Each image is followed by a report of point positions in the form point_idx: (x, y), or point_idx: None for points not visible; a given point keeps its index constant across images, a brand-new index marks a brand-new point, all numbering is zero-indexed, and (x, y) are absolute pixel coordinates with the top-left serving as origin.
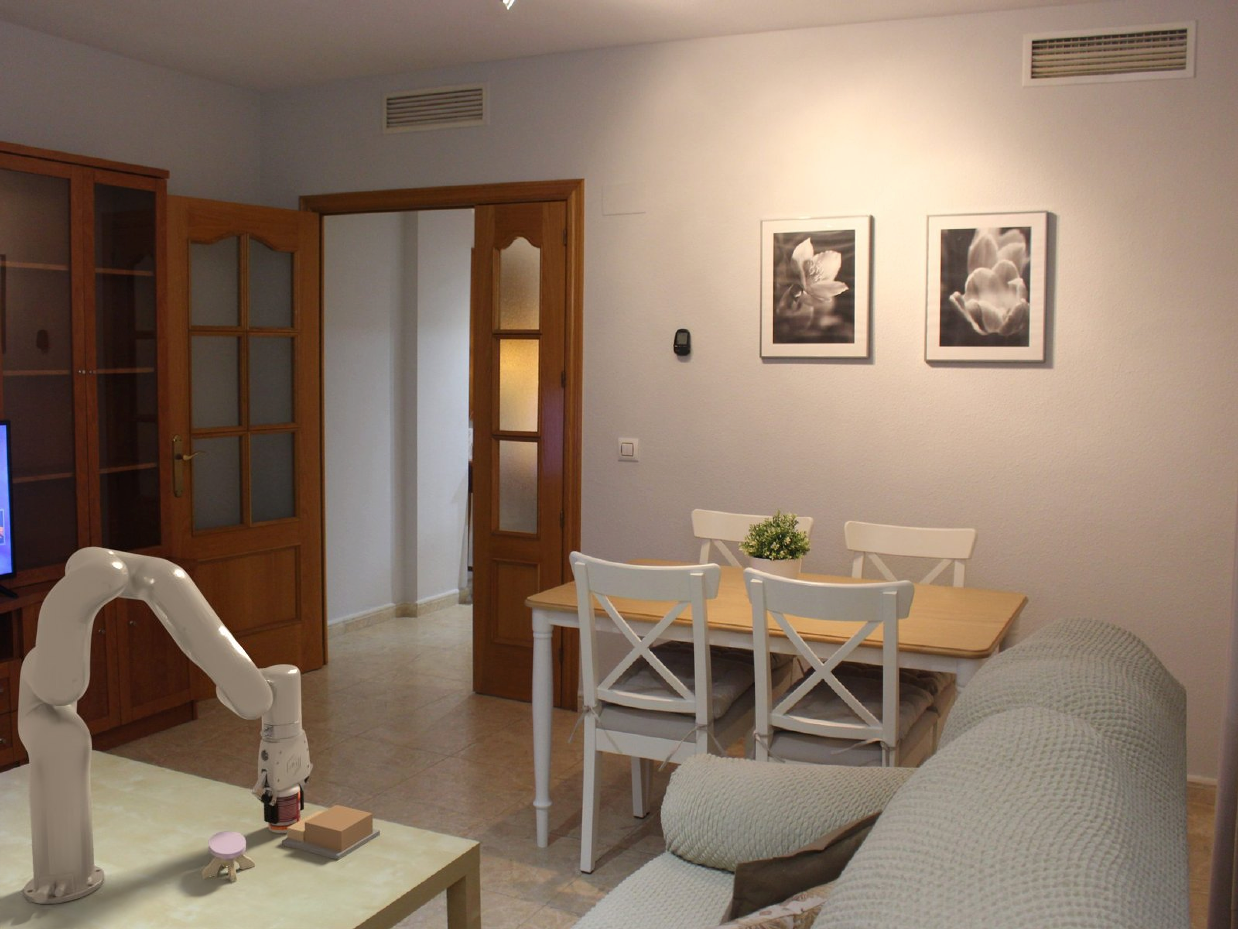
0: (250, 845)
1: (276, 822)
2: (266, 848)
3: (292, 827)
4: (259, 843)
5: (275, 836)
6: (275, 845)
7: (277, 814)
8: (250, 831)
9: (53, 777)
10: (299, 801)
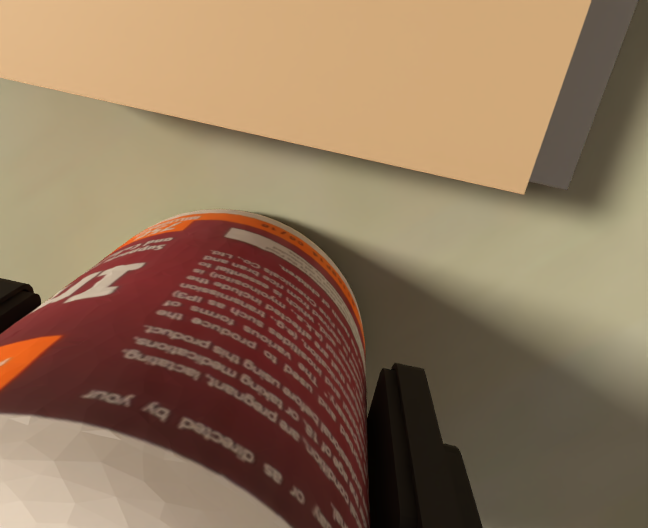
0: (587, 418)
1: (422, 373)
2: (631, 275)
3: (509, 130)
4: (543, 374)
5: (397, 321)
6: (565, 232)
7: (417, 422)
8: None
9: None
10: (55, 312)
